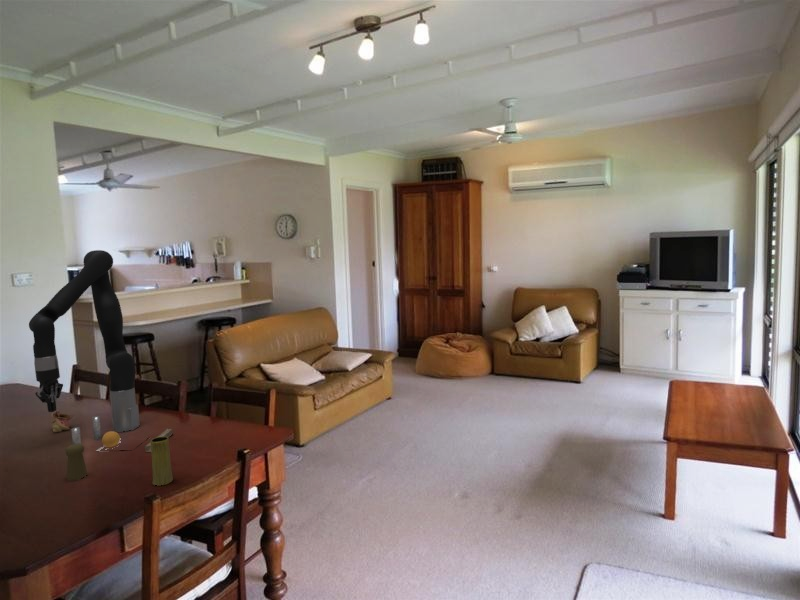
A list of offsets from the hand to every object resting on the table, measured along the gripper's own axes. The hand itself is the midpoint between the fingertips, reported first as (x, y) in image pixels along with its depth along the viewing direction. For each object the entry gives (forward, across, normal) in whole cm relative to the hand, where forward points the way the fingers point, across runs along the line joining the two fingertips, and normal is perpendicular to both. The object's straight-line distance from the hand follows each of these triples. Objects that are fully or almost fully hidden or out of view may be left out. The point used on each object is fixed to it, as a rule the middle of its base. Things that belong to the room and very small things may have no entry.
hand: (52, 411), depth 203 cm
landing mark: (+14, 0, -26) cm, 30 cm away
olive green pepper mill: (+14, -29, -26) cm, 42 cm away
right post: (+14, +6, -12) cm, 20 cm away
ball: (+11, -3, -23) cm, 26 cm away
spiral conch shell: (+14, +18, +10) cm, 25 cm away
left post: (+14, -7, -12) cm, 20 cm away
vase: (+14, -34, -57) cm, 69 cm away
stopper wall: (+14, 0, -40) cm, 43 cm away
